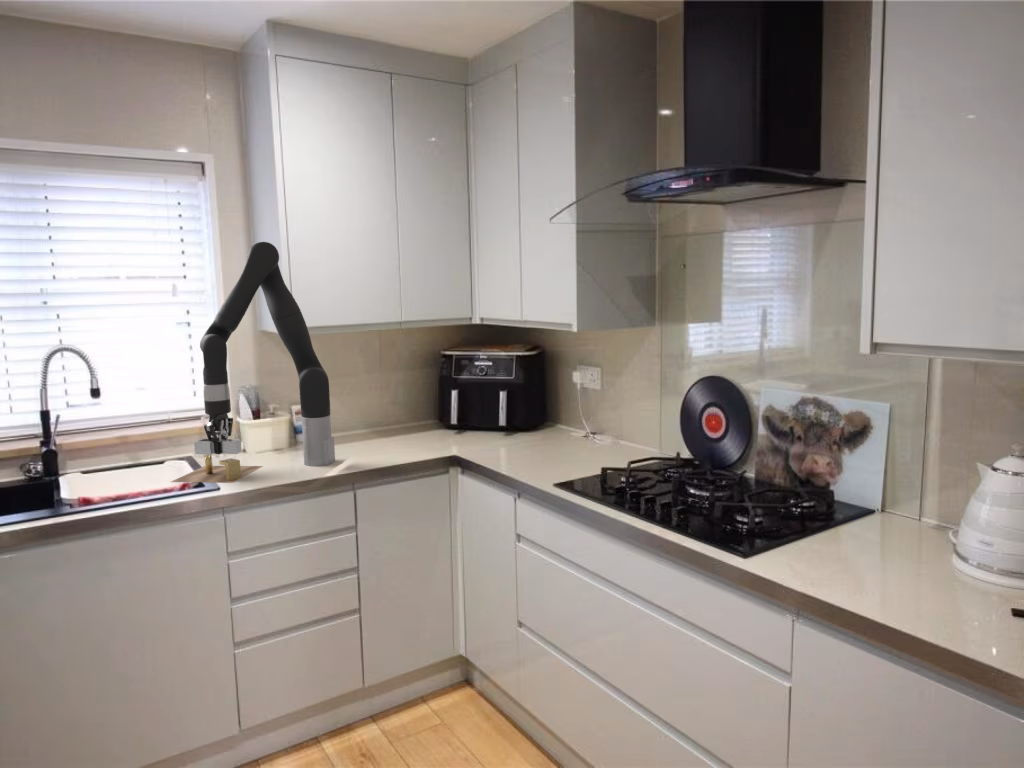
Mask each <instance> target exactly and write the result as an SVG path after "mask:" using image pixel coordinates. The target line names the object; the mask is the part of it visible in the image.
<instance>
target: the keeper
mask: <svg viewBox="0 0 1024 768" xmlns="http://www.w3.org/2000/svg"><path fill="white" fill-rule="evenodd" d="M219 465H220V466H225V469H226V480H228V481H231V480H235V479H239V478H240V479H242V478H241V470H240V466H241V460H240V459H237V458H236V459H235V458H227V459H223V460H219ZM240 479H239V480H240Z"/></svg>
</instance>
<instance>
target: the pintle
mask: <svg viewBox="0 0 1024 768" xmlns="http://www.w3.org/2000/svg"><path fill="white" fill-rule="evenodd" d="M212 455H213V454H211V455H205V454H204V463H205V464H204V466H205V467H206V474H213V468H212V466H213V460H212V459H213V458H212Z"/></svg>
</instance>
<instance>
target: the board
mask: <svg viewBox="0 0 1024 768" xmlns="http://www.w3.org/2000/svg"><path fill="white" fill-rule="evenodd" d="M263 467H264V465H240V470H241V478H239V479H235V480H231V481H228V480H226V469H225V465H212V468H213V474H206V467H205V465H204V466H202V467H200V468H198V469H197V468H196V469H195V470H193V471H190V472H188V473H186V474H184V475H182V476H180V477H178V478H176V479H173V480H171V481H170V482H171V483H209V484H210V483H211V484H213V483H217V484H218V483H222V484H226V483H227V484H228V483H230V484H231V483H232V484H233V483H235V482H237V481H239V480H240V479H243V478H244V477H246V476H248V475H250V474H252V473H253V472H255V471H257V470H259V469H261V468H263Z"/></svg>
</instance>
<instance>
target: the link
mask: <svg viewBox="0 0 1024 768" xmlns="http://www.w3.org/2000/svg"><path fill="white" fill-rule="evenodd" d="M193 443H194V446H193V447H194V454H195V455H204V456H205V455H216V454H215V453H214V444H213V442H211V441H209V440H208V437H205V438H201V439H198V440H195V441H194V442H193ZM221 447H222V453H221V454H220V455H238V454H240V453H242V452H243V451H242V439H238V438H235V439H234V438H232V439H231V438H228V439H221Z"/></svg>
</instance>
